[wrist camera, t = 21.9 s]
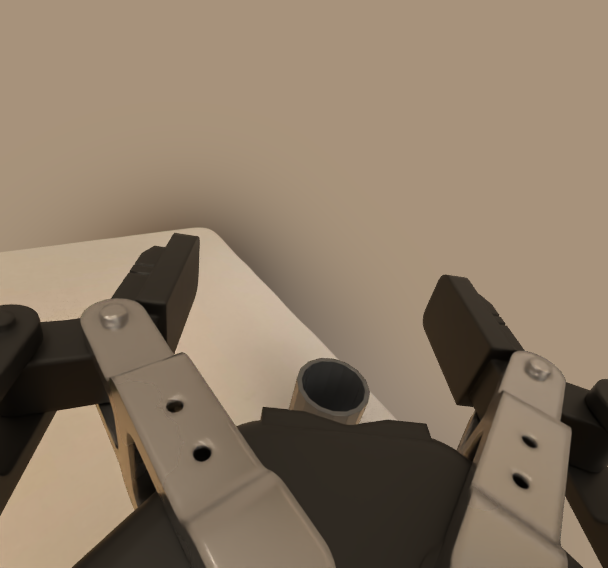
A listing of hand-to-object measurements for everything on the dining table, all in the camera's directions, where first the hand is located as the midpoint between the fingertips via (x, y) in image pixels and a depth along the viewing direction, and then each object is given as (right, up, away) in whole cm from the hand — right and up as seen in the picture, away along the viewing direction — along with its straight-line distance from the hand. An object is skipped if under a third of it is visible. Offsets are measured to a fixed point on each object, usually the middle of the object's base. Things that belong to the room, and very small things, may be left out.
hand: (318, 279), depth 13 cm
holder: (+1, -18, +31) cm, 36 cm away
